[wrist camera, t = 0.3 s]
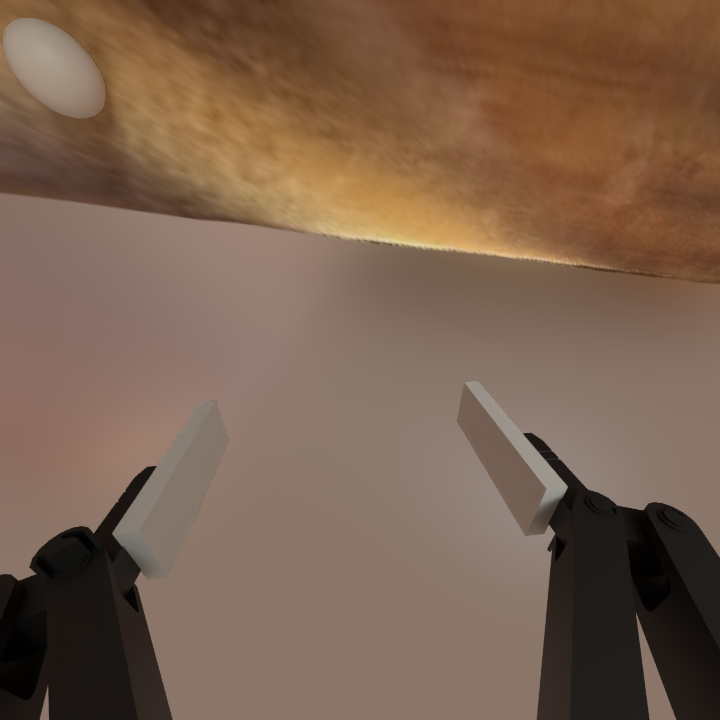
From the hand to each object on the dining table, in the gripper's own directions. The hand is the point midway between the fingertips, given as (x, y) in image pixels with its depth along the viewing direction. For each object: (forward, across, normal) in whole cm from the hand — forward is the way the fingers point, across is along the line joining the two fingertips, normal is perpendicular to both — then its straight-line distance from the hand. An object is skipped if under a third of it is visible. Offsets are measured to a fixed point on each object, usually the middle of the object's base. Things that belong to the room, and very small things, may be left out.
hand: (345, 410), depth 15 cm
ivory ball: (+20, -21, +20) cm, 35 cm away
